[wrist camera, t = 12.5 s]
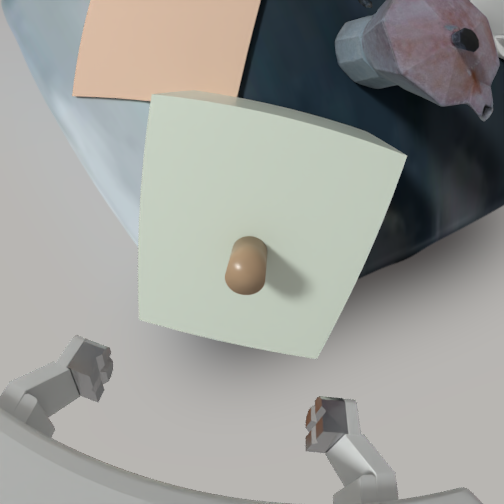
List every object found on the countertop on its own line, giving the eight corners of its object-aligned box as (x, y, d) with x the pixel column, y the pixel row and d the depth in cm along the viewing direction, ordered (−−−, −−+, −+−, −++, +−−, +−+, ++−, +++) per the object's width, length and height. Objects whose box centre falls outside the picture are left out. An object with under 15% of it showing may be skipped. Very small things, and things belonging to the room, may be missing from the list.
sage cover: (366, 131, 32) (428, 169, 18) (310, 291, 44) (318, 387, 29) (194, 90, 31) (128, 97, 17) (171, 259, 43) (125, 345, 29)
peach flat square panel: (280, -66, 21) (280, -68, 20) (234, 113, 33) (233, 113, 32) (114, -64, 20) (113, -65, 20) (74, 95, 32) (72, 96, 32)
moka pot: (384, 125, 32) (480, 166, 14) (290, 29, 28) (301, -42, 10) (435, 80, 28) (551, 90, 10) (347, -16, 24) (405, -98, 6)
